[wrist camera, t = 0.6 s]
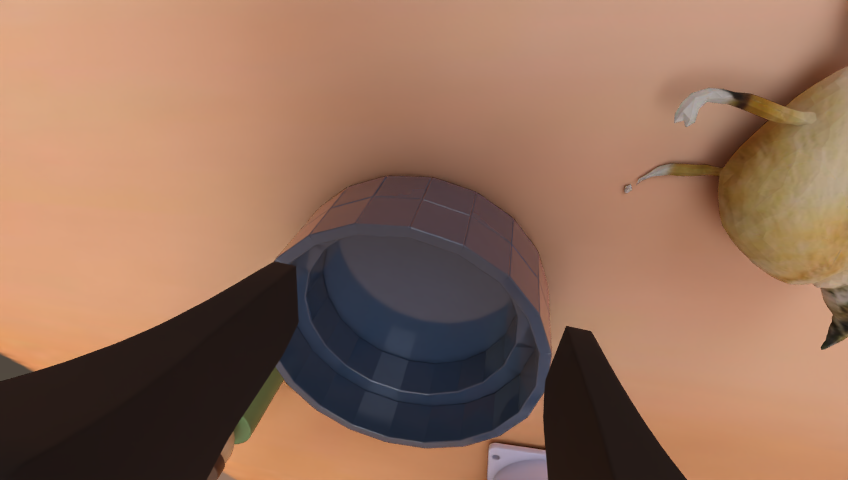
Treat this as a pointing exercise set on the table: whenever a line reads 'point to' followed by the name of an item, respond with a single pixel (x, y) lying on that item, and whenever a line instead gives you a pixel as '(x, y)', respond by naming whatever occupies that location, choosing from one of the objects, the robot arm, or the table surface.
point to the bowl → (418, 314)
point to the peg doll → (248, 421)
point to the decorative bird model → (787, 188)
